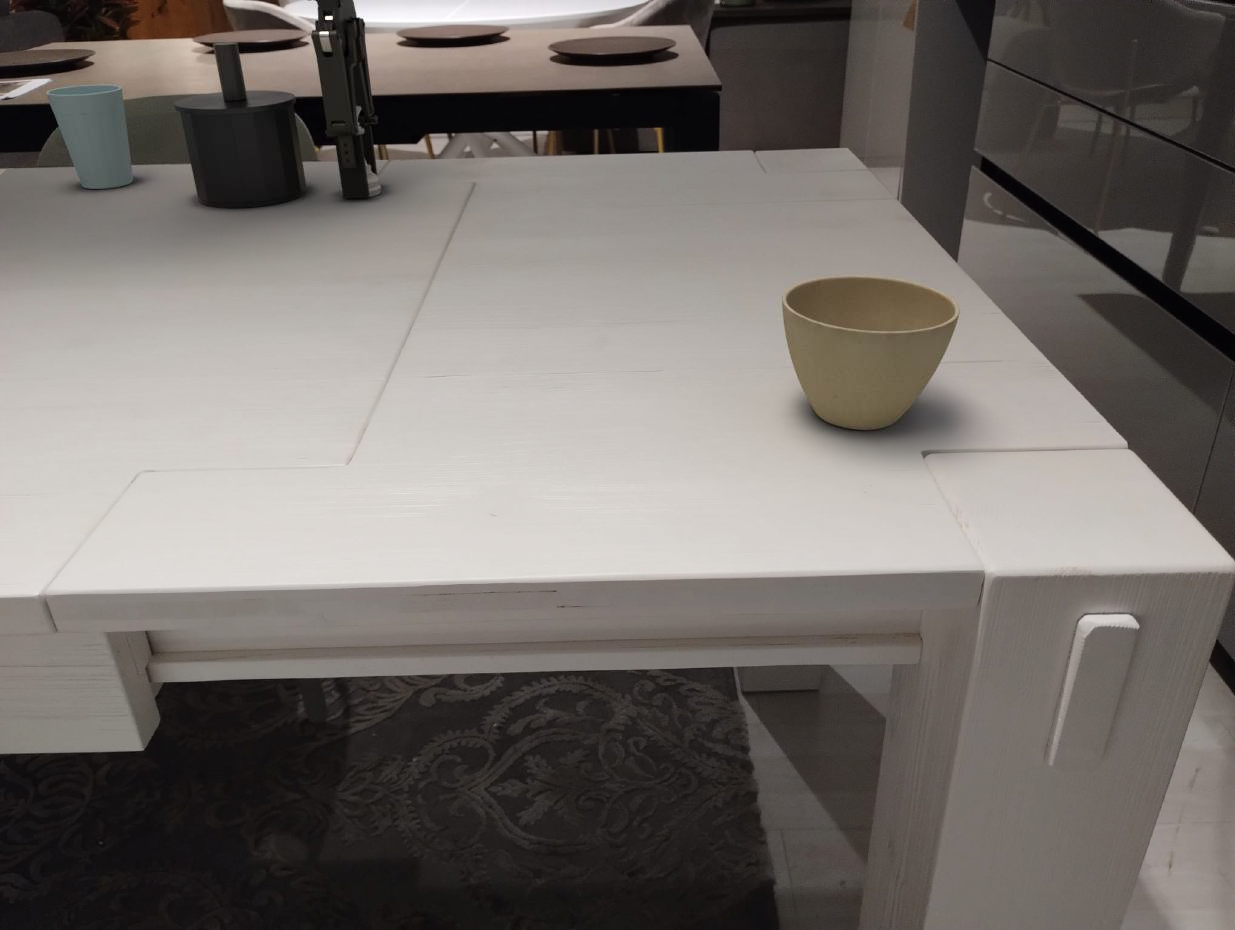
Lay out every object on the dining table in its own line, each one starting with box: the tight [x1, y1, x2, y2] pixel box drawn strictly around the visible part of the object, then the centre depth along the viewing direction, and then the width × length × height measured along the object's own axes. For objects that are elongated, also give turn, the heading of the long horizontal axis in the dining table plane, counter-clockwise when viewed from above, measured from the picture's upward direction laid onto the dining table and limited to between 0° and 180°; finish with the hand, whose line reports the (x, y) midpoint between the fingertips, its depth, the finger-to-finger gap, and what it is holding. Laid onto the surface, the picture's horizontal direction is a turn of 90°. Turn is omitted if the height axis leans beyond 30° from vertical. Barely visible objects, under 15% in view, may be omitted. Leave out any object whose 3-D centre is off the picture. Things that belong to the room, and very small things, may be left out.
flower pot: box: [781, 274, 961, 431], centre depth 60 cm, size 10×10×7 cm
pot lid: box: [173, 41, 297, 115], centre depth 106 cm, size 12×12×7 cm
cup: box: [45, 84, 134, 190], centre depth 115 cm, size 8×8×10 cm
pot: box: [179, 104, 307, 209], centre depth 110 cm, size 11×11×10 cm
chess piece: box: [339, 106, 382, 198], centre depth 110 cm, size 4×4×10 cm
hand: (361, 190), depth 112 cm, fingers closed on chess piece, 4 cm apart
